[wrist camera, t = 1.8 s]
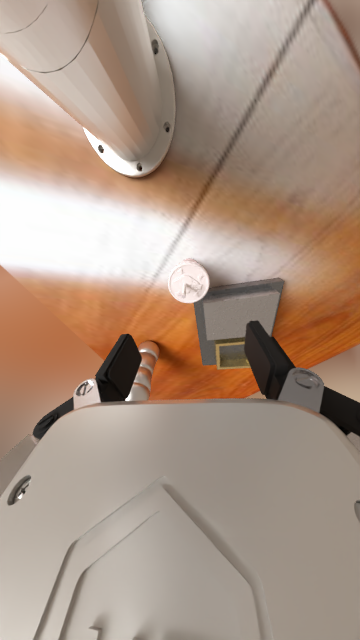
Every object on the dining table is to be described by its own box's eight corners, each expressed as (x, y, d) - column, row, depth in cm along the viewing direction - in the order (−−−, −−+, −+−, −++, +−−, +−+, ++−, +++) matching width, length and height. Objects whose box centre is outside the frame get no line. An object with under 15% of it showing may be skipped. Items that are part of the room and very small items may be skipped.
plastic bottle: (157, 336, 41) (134, 413, 24) (163, 352, 44) (147, 429, 28) (136, 339, 42) (101, 414, 25) (144, 354, 46) (118, 429, 29)
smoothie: (175, 248, 27) (164, 267, 16) (208, 253, 28) (220, 276, 16) (172, 280, 31) (161, 314, 20) (200, 285, 31) (206, 321, 20)
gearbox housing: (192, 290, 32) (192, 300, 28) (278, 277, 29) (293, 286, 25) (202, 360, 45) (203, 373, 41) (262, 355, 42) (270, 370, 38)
